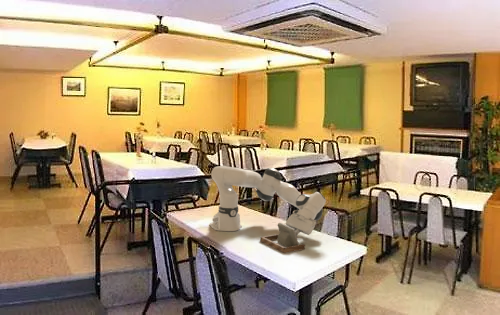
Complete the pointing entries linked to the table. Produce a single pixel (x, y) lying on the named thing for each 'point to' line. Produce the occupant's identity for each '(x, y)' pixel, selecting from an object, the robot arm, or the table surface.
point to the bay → (283, 249)
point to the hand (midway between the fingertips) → (291, 236)
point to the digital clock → (287, 236)
